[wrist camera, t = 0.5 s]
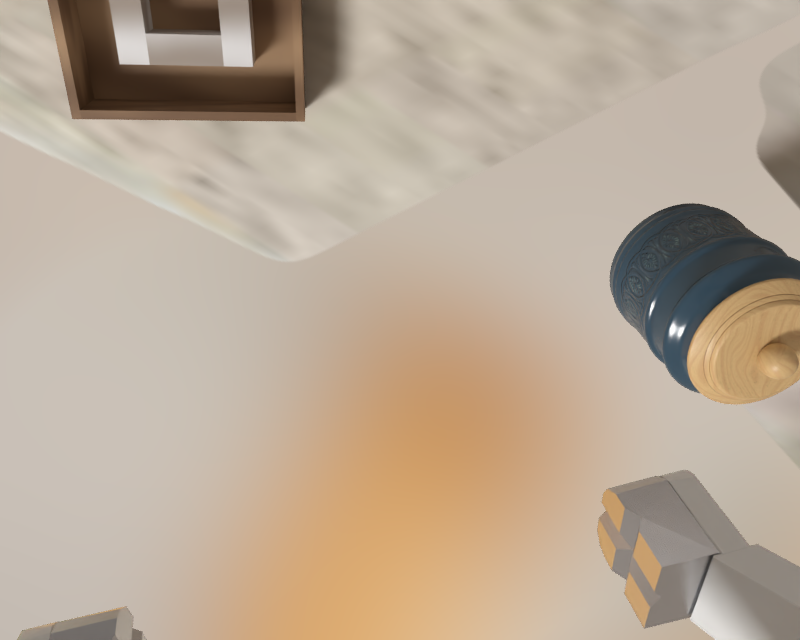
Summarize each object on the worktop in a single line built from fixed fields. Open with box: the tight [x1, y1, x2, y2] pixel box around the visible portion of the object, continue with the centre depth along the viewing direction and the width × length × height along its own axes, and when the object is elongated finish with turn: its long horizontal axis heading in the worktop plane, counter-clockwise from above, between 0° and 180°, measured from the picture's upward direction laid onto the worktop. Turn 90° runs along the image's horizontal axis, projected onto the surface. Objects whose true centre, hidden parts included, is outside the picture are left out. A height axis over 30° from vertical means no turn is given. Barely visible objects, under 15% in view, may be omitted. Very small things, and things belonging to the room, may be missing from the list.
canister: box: [610, 204, 800, 404], centre depth 54 cm, size 13×13×18 cm
